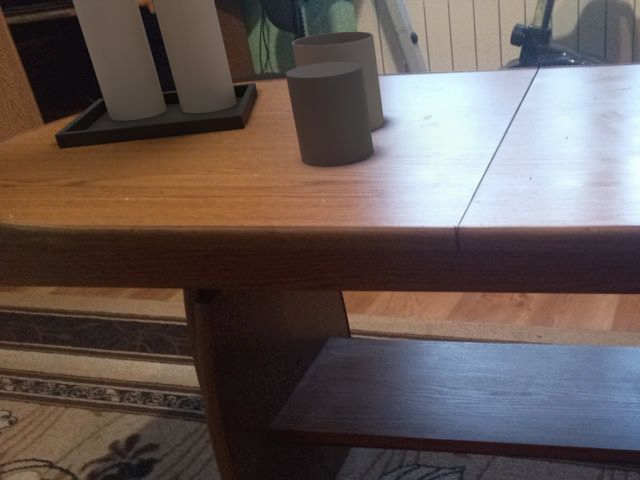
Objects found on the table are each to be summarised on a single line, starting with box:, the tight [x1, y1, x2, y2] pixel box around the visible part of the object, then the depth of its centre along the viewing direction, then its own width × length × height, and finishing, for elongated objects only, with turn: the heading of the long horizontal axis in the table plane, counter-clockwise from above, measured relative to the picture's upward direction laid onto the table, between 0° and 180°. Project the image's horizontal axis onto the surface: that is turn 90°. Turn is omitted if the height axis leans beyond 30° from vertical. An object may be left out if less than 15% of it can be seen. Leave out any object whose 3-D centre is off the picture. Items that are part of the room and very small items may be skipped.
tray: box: [54, 82, 259, 149], centre depth 91 cm, size 21×19×2 cm
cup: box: [291, 31, 385, 132], centre depth 79 cm, size 8×8×10 cm
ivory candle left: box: [72, 0, 167, 121], centre depth 91 cm, size 7×7×15 cm
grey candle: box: [285, 62, 375, 168], centre depth 70 cm, size 7×7×9 cm
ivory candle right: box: [152, 0, 237, 113], centre depth 92 cm, size 7×7×15 cm
